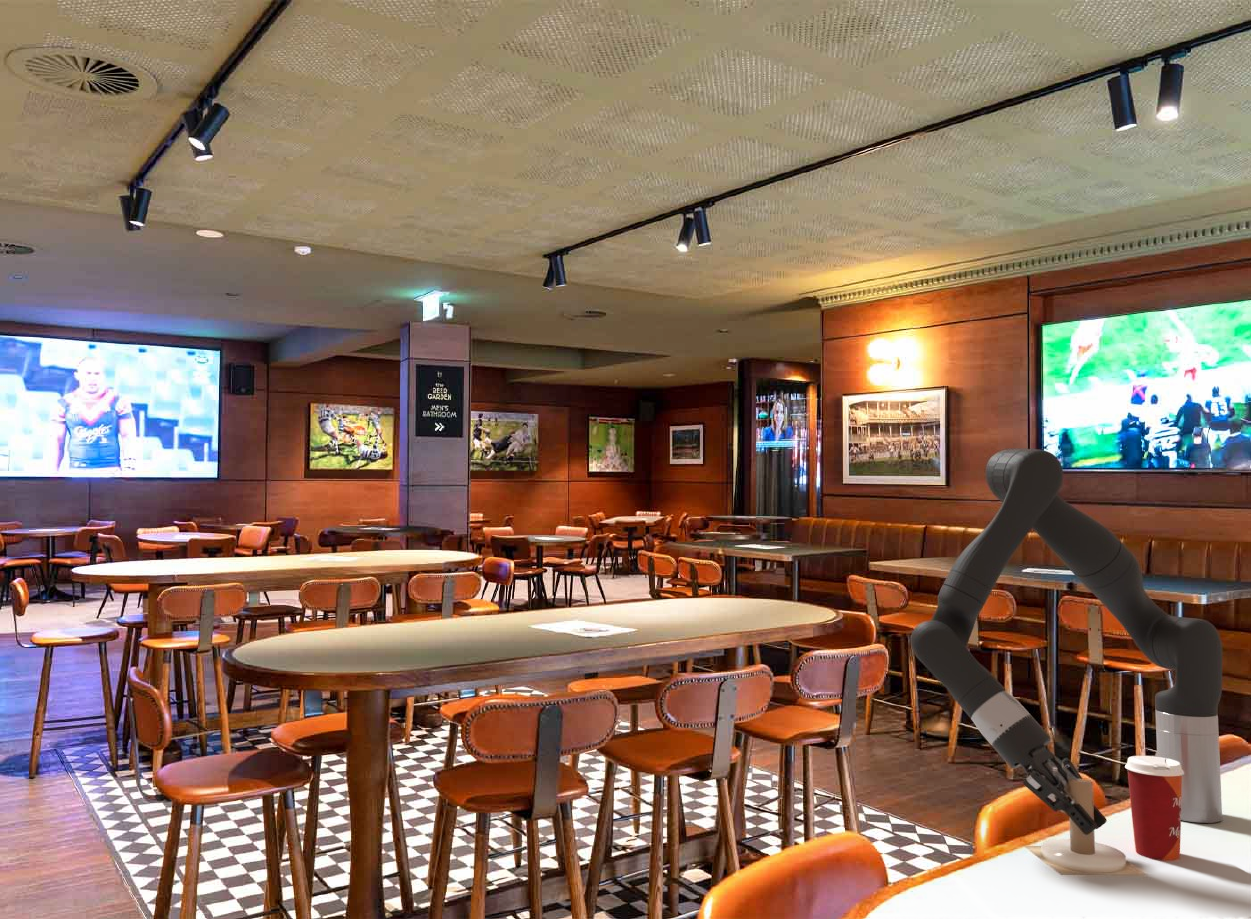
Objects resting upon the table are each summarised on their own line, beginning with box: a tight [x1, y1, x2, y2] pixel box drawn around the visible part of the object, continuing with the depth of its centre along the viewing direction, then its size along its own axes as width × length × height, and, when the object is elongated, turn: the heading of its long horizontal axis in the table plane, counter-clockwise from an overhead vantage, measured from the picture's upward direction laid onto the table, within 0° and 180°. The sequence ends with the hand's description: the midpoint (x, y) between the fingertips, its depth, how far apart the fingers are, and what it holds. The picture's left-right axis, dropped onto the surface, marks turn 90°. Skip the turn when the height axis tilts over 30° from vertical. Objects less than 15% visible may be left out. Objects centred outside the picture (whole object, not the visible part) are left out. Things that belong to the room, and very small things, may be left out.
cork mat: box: [1023, 845, 1149, 876], centre depth 137 cm, size 12×12×1 cm
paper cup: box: [1124, 755, 1184, 862], centre depth 140 cm, size 8×8×14 cm
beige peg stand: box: [1040, 778, 1127, 873], centre depth 137 cm, size 11×11×11 cm
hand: (1096, 827), depth 136 cm, fingers closed on beige peg stand, 3 cm apart
